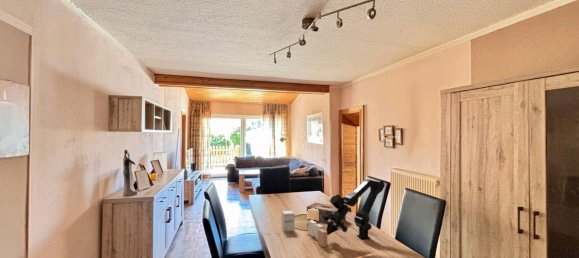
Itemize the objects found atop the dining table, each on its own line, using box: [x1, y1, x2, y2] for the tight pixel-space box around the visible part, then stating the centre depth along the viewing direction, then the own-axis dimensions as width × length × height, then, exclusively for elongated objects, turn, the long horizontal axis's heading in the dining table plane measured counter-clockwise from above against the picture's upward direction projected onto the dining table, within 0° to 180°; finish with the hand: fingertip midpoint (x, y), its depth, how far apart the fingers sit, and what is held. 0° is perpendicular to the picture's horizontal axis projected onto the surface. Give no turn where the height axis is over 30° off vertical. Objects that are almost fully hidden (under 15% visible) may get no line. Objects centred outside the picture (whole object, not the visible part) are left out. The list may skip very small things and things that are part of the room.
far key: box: [307, 220, 318, 237], centre depth 170 cm, size 3×5×8 cm, turn 28°
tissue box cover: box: [306, 202, 347, 224], centre depth 203 cm, size 26×14×10 cm, turn 57°
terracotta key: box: [317, 228, 328, 248], centre depth 154 cm, size 3×5×8 cm, turn 28°
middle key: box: [314, 223, 325, 241], centre depth 163 cm, size 3×5×8 cm, turn 28°
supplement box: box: [281, 210, 295, 232], centre depth 180 cm, size 7×7×13 cm
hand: (325, 235), depth 155 cm, fingers closed
